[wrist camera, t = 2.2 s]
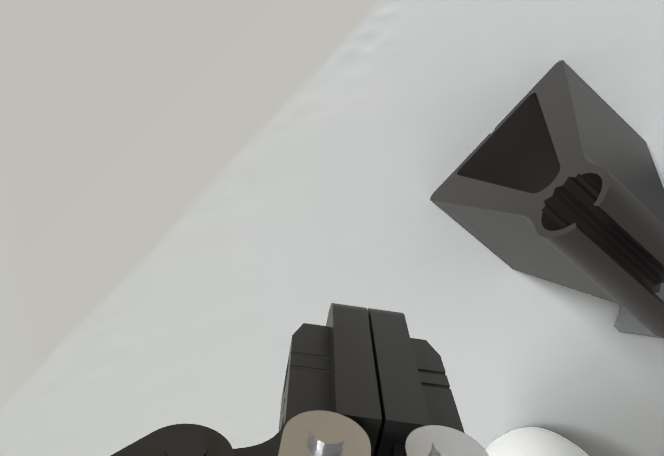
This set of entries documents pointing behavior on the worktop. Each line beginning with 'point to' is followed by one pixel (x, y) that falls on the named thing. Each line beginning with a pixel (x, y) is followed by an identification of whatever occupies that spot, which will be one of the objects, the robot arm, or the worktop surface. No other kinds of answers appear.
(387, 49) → the worktop surface
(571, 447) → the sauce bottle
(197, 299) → the worktop surface
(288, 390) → the robot arm
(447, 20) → the worktop surface
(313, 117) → the worktop surface
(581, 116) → the phone stand
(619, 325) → the rubber mat
